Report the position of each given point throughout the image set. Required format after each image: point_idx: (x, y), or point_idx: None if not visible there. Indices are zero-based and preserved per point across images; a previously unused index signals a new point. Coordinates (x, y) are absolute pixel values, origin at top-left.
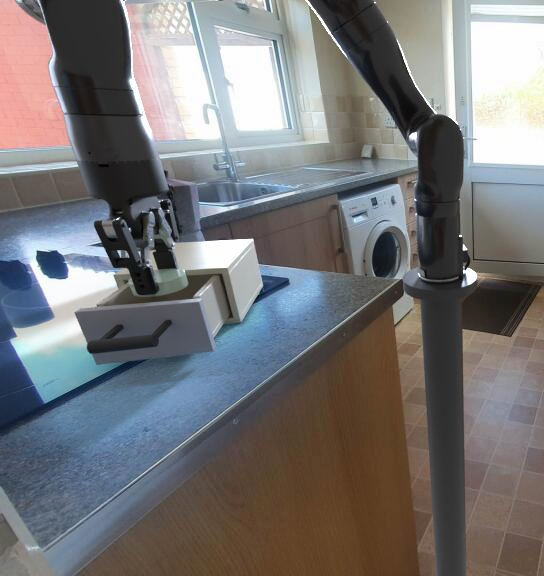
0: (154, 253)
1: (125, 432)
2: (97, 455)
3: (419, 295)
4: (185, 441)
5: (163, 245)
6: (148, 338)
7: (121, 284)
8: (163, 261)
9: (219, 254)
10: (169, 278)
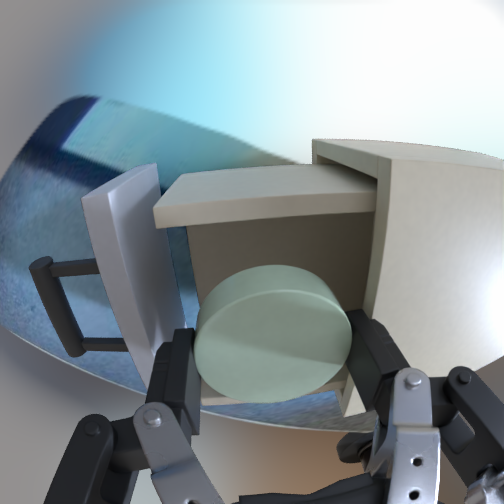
0: (378, 374)
1: (25, 291)
2: (2, 283)
3: (354, 433)
4: (31, 343)
5: (384, 418)
6: (66, 350)
7: (370, 167)
8: (361, 363)
9: (454, 357)
10: (241, 391)
